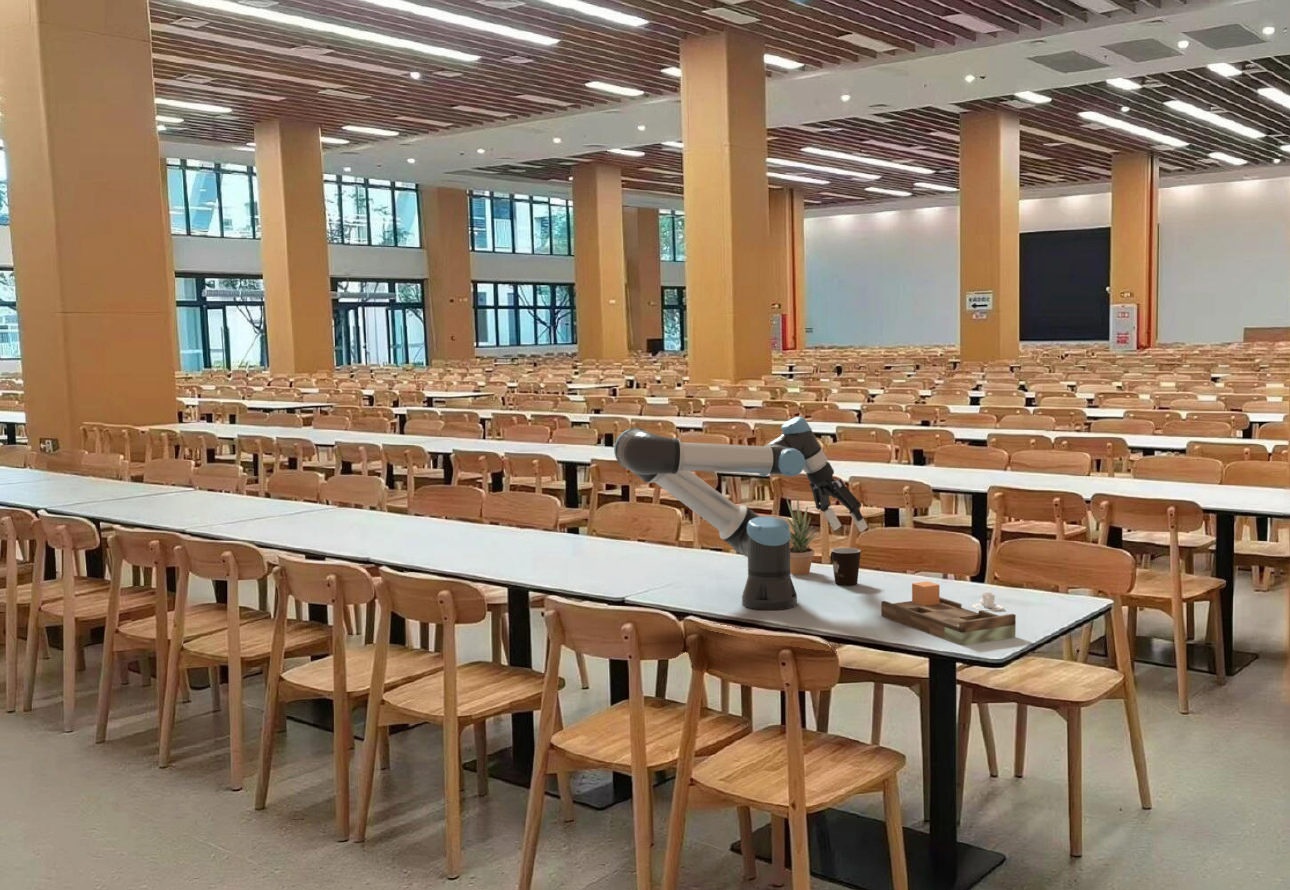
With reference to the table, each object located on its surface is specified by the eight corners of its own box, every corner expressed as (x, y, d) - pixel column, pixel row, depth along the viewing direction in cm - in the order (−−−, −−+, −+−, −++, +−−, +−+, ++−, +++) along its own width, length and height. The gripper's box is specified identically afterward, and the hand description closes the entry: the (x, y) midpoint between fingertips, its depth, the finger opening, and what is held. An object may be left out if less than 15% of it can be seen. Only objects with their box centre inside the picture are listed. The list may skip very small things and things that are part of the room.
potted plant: (777, 572, 378) (776, 493, 376) (802, 568, 382) (801, 490, 380) (796, 577, 369) (795, 497, 367) (821, 573, 374) (821, 494, 371)
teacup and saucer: (981, 603, 332) (981, 588, 332) (1009, 607, 327) (1009, 592, 326) (967, 609, 325) (967, 594, 325) (995, 613, 320) (996, 598, 320)
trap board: (961, 645, 288) (961, 622, 288) (881, 616, 318) (881, 595, 318) (1015, 636, 294) (1015, 614, 294) (931, 609, 325) (931, 589, 324)
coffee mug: (863, 586, 354) (862, 552, 353) (833, 587, 354) (833, 553, 353) (857, 578, 366) (856, 545, 365) (828, 579, 366) (828, 546, 365)
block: (923, 605, 316) (923, 586, 316) (912, 601, 321) (912, 583, 320) (939, 603, 318) (939, 584, 318) (927, 599, 323) (927, 581, 322)
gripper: (850, 459, 339) (884, 522, 343) (803, 460, 362) (836, 520, 366) (831, 473, 336) (866, 537, 340) (784, 474, 359) (818, 534, 363)
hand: (850, 528), depth 353 cm, fingers open, 13 cm apart
